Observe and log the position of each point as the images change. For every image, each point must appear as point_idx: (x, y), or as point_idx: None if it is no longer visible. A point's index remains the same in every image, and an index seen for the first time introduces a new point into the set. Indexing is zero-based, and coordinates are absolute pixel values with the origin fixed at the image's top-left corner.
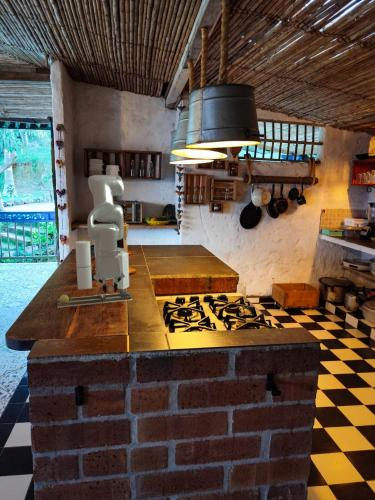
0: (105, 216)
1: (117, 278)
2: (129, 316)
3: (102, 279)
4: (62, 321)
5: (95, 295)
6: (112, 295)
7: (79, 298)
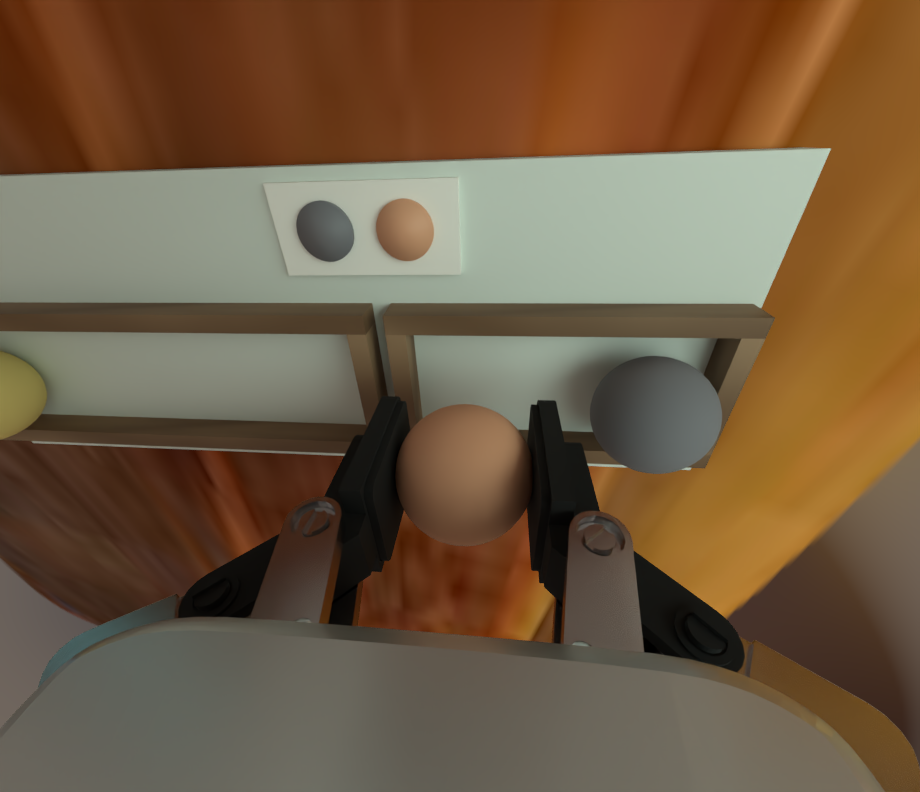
0: None
1: (647, 633)
2: (549, 619)
3: (274, 600)
4: (199, 572)
5: (270, 203)
6: (508, 330)
7: (109, 327)
